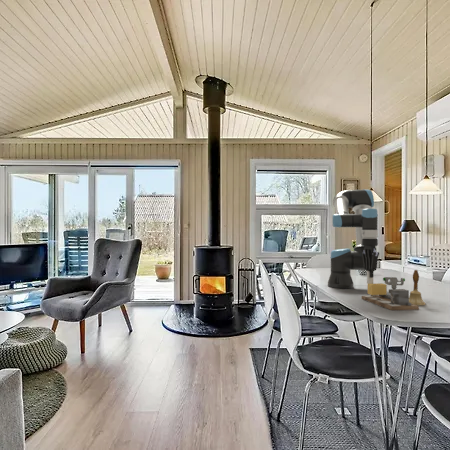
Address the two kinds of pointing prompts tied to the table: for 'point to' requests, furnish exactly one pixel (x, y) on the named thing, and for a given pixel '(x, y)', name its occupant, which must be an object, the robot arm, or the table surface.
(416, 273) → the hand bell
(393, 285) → the mechanical component
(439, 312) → the table surface
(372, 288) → the block
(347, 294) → the table surface
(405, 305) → the board
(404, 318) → the table surface
